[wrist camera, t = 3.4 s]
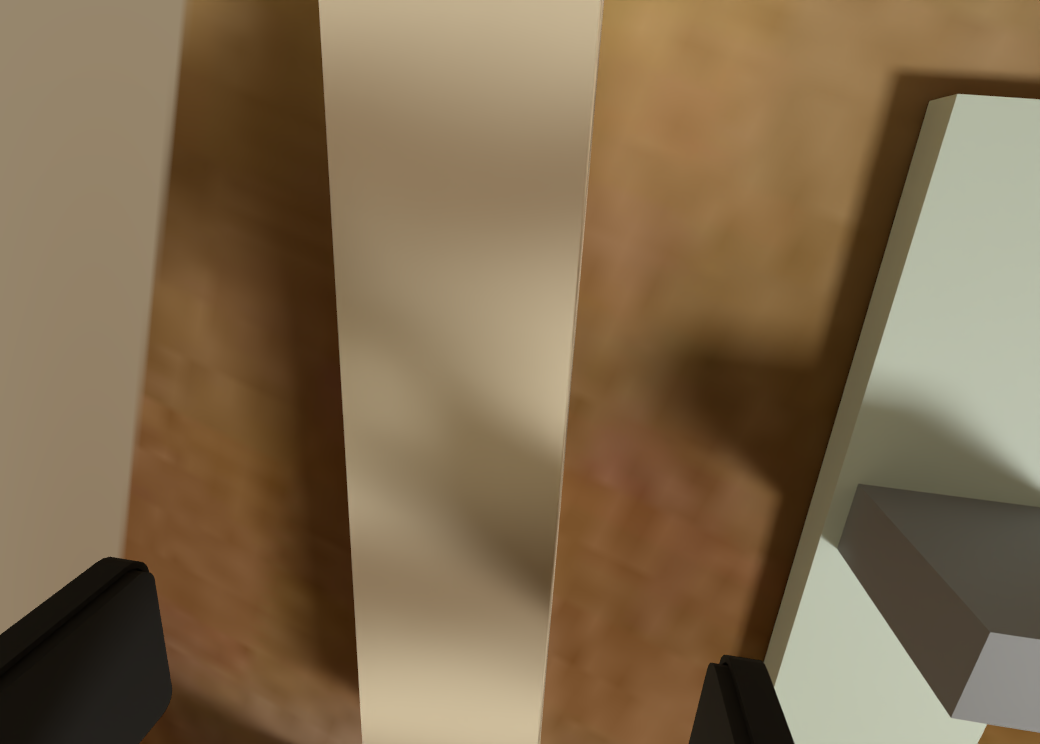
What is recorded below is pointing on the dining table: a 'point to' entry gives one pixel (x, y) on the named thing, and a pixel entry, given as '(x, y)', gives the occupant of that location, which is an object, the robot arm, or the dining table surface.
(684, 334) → the dining table surface
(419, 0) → the birch bar
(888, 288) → the stand
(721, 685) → the robot arm
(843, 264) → the dining table surface
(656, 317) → the dining table surface
